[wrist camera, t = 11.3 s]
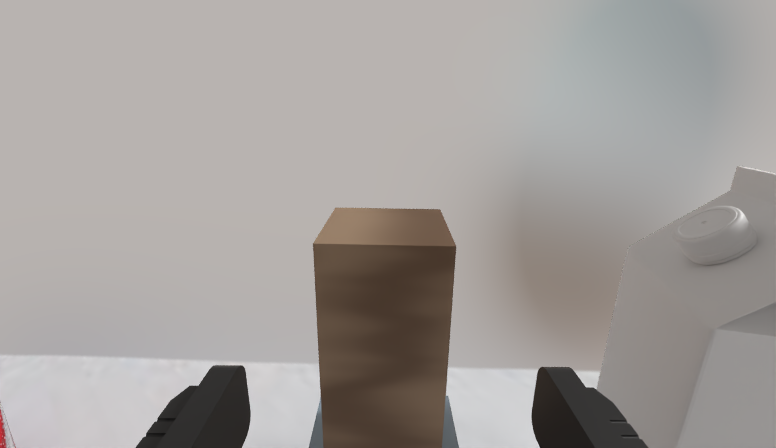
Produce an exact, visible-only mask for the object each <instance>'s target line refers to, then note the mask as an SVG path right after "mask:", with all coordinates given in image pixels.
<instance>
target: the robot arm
mask: <svg viewBox="0 0 776 448" xmlns="http://www.w3.org/2000/svg"><path fill="white" fill-rule="evenodd" d="M249 425H250V404H249V396H248V388H247V380H246V372H245V368H244V367H243V366H225V365H215V366H213V367H211V368H210V370H209V371H208V373H207V374H206V376H205V377H204V378H203V380H202V381H201V383H200V384H199V386H189V387H188V388H186V389H185V390H184V391H183V392H181V393H180V394H179V395H177V396H176V397H175V398H174V399H172V400H171V401H170V402H169V404H168V405H167V406H166V408H165V409H164V410H163V412H162V413H161V414H160V416H159V417H158V420H157V422H154V424H153V425H152V426H151V428H150V429H149V430H148V432H147V433H146V437H143V438H142V440H141V441H140V442H139V444H138V445H137V446H136V448H242V446H243V444H244V441H245V439H246V436H247V433H248V430H249ZM532 425H533V430H534V434H535V437H536V440H537V442H538V444H539V446H540V448H648V446H647V445H646V444H645V443H644V441H643V440H642V439H639V436H638V434H637V432H636V431H635V430H634V429H633V427H632V426H631V425H630V424H628V423H627V420H626V418H625V417H624V416H623V415H622V413H621V412H620V411H619V409H618V408H617V407H616V406H615V404H614V403H613V402H612V401H610V400H609V399H608V398H606V397H605V396H604V395H603V394H601V393H600V392H599V391H597V390H596V389H595V388H586V387H585V386H584V384H583V383H582V381H581V380H580V379H579V377H578V376H577V375H576V373H575V372H574V371H573V369H571V368H569V367H541V368H540V369H539V370H538V374H537V380H536V387H535V394H534V401H533V407H532Z"/></svg>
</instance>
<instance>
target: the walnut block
mask: <svg viewBox="0 0 776 448" xmlns="http://www.w3.org/2000/svg"><path fill="white" fill-rule="evenodd" d="M313 251H314V268H315V269H314V270H315V290H316V310H317V329H318V350H319V369H320V389H321V409H322V429H323V448H442V439H443V425H444V411H445V397H446V383H447V368H448V353H449V340H450V325H451V311H452V297H453V283H454V269H455V255H456V245H455V243H454V241H453V238H452V236H451V233H450V231H449V229H448V227H447V224H446V222H445V220H444V217H443V215H442V213H441V210H438V209H381V208H379V209H378V208H335V210H334V211H333V213H332V214H331V216H330V218H329V219H328V221H327V222H326V224H325V226H324V227H323V229H322V230H321V232H320V233H319V235H318V237H317V238H316V240H315V242H314V243H313Z"/></svg>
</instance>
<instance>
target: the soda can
mask: <svg viewBox="0 0 776 448" xmlns="http://www.w3.org/2000/svg"><path fill="white" fill-rule="evenodd" d="M0 448H16V447H15V444H14V441H13V438H12V435H11V432H10V429H9V426H8V423H7V420H6V417H5V414H4V411H3V408H2V405H1V402H0Z"/></svg>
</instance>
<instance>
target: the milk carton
mask: <svg viewBox="0 0 776 448" xmlns="http://www.w3.org/2000/svg"><path fill="white" fill-rule="evenodd" d="M597 391H599V392H600V393H601V394H603V395H604V396H605V397H606V398H608V399H609V400H610V401H612V402H613V403H614V404H615V406H616V407H617V408H618V409H619V411H620V412H621V413H622V415H623V416H624V417H625V418H626V420H627V423H628V424H630V425H631V426H632V427H633V429H634V430H635V431H636V432H637V434H638V436H639V439H642V440H643V441H644V443H645V444H646V445H647V446H648V448H776V173H771V172H766V171H762V170H757V169H752V168H747V167H739V166H738V167H737V168H736V172H735V175H734V179H733V182H732V186H731V190H730V191H729V192H727V193H725V194H723V195H721V196H719V197H718V198H716V199H714V200H712V201H711V202H708V203H707V204H705V205H703V206H701V207H699V208H698V209H696V210H694V211H692V212H691V213H688V214H687V215H685V216H683V217H681V218H680V219H678V220H676V221H674V222H673V223H670V224H668V225H667V226H665V227H663V228H661V229H659V230H658V231H656V232H654V233H652V234H650V235H648V236H647V237H645V238H643V239H641V240H639V241H638V242H636V243H634V244H632V245H631V246H629V248H628V251H627V254H626V258H625V262H624V266H623V270H622V275H621V279H620V285H619V289H618V293H617V298H616V303H615V307H614V312H613V316H612V321H611V326H610V330H609V335H608V339H607V344H606V349H605V353H604V358H603V363H602V367H601V372H600V376H599V381H598V386H597Z"/></svg>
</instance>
